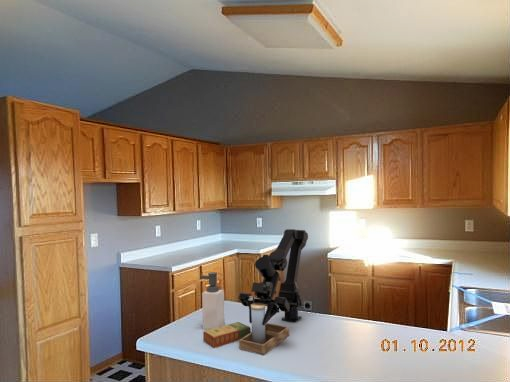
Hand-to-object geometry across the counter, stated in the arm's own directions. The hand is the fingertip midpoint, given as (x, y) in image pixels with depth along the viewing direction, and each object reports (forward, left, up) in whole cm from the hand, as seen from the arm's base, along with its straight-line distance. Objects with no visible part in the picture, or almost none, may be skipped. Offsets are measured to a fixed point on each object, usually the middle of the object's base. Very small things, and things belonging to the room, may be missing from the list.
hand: (256, 323), depth 130 cm
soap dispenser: (-9, -27, -9) cm, 30 cm away
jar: (-1, 0, -7) cm, 7 cm away
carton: (-2, -14, -9) cm, 17 cm away
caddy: (-6, 0, -8) cm, 10 cm away
